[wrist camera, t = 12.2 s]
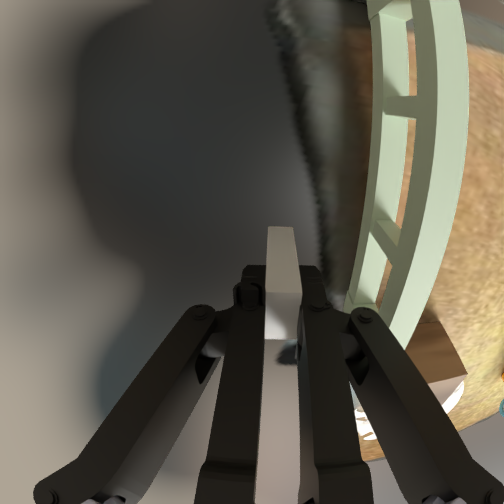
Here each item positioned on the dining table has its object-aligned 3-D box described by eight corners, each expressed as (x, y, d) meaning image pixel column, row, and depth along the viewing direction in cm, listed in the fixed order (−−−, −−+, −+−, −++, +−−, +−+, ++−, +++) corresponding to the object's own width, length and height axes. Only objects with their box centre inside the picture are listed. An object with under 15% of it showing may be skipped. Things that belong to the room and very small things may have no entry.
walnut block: (380, 325, 22) (402, 388, 16) (439, 321, 21) (467, 374, 15) (360, 372, 25) (372, 428, 19) (415, 366, 25) (432, 415, 19)
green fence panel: (366, -3, 9) (429, -64, 2) (393, 4, 9) (467, -44, 2) (342, 309, 20) (366, 405, 12) (364, 308, 20) (394, 401, 12)
